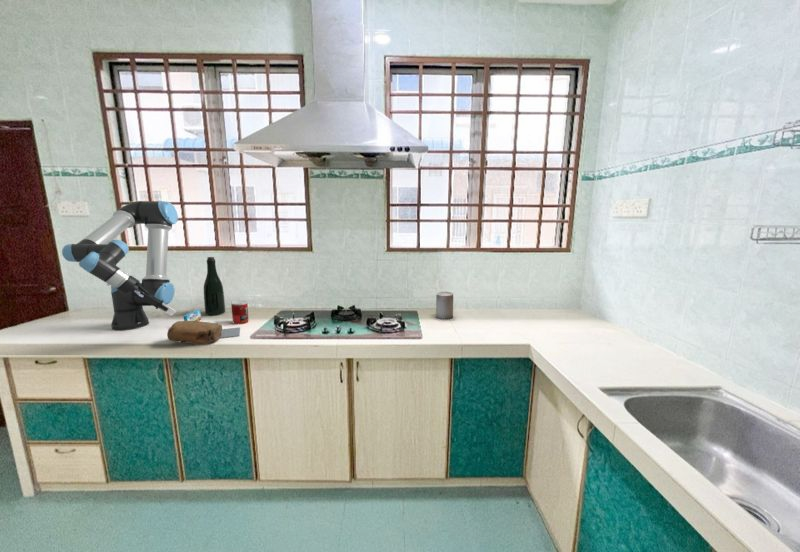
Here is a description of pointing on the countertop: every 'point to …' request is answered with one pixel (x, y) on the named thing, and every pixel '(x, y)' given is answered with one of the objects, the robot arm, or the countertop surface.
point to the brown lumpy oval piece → (195, 332)
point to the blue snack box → (193, 316)
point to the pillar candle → (444, 305)
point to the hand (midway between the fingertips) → (173, 313)
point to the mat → (228, 333)
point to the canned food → (240, 312)
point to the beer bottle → (213, 290)
